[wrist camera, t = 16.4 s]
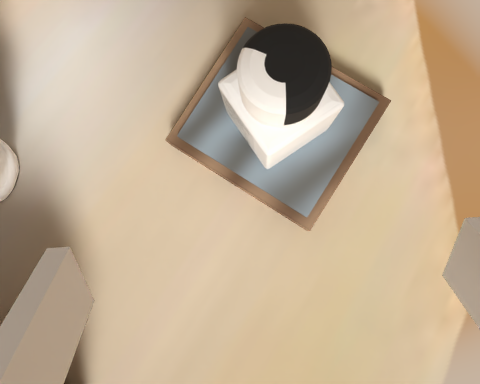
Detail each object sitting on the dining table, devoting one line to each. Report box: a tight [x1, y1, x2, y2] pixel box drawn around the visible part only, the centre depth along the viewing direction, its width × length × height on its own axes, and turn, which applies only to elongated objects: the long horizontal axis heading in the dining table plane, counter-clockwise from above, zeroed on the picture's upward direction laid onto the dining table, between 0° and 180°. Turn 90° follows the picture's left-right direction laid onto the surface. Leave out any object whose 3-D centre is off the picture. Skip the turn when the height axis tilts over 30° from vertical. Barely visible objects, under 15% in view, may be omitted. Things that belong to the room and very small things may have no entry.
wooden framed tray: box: [166, 17, 391, 231], centre depth 38 cm, size 18×16×3 cm
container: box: [218, 24, 344, 169], centre depth 30 cm, size 8×8×13 cm
